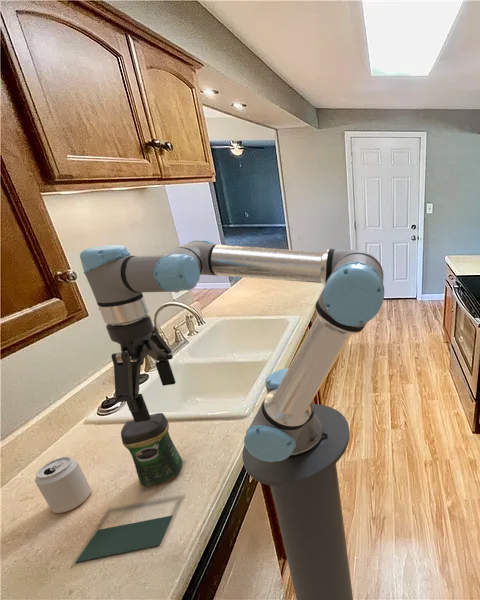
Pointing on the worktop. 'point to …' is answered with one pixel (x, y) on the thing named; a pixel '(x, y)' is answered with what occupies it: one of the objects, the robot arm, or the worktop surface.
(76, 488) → the can
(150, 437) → the coffee jar
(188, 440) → the worktop surface
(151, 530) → the mat
